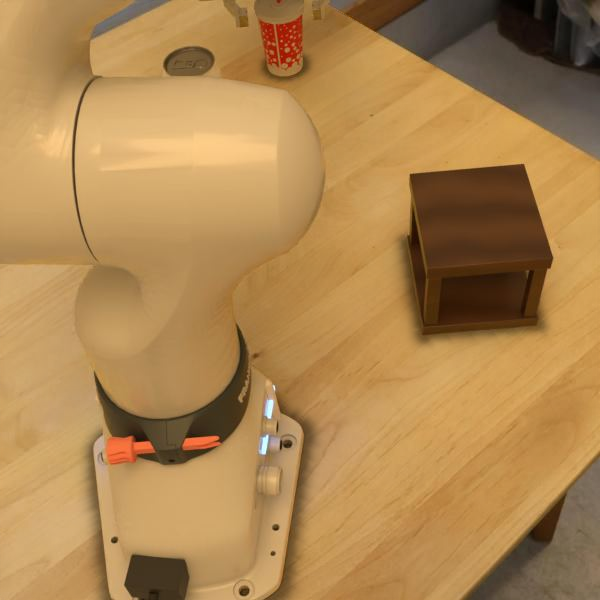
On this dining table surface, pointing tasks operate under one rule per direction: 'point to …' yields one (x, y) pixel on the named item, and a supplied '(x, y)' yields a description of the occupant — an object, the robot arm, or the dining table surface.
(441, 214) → the shelf
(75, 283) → the dining table surface
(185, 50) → the can
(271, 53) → the beverage cup
